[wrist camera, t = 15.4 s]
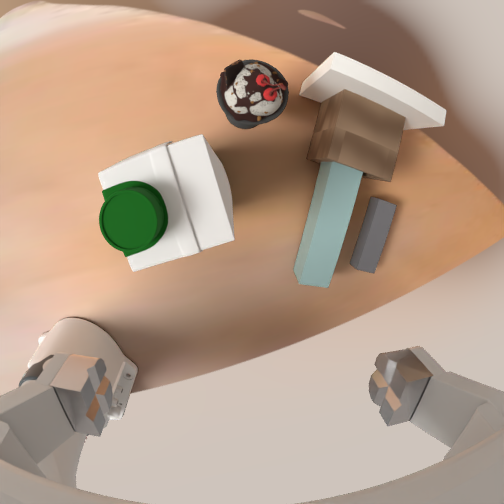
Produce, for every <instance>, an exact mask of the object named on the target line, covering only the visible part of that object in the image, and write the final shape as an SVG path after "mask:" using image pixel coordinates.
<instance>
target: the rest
mask: <svg viewBox="0 0 504 504" xmlns="http://www.w3.org/2000/svg"><path fill="white" fill-rule="evenodd" d="M396 206H397V205H394V204H392V203H389V202H387V201H384V200H381V199H378V198H375V197H371V198H370V201H369V205H368V208H367V211H366V215H365V218H364V221H363V224H362V228H361V231H360V234H359V237H358V240H357V243H356V246H355V249H354V252H353V255H352V258H351V261H350V264H351V265H352V266H353V267H354V268H355V269H357V270H361V271H365V272H369V273H375V270H376V267H377V264H378V261H379V259H380V256H381V253H382V250H383V247H384V244H385V241H386V238H387V235H388V232H389V229H390V226H391V222H392V219H393V216H394V213H395V209H396Z"/></svg>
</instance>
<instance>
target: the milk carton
mask: <svg viewBox="0 0 504 504" xmlns="http://www.w3.org/2000/svg"><path fill="white" fill-rule="evenodd" d="M169 143H172V141H169V142H166V143H163V144H160V145H158V146H155V147H153V148H151V149H148V150H146V151H143V152H141V153H138V154H136V155H133V156H131V157H129V158H126V159H124V160H122V161H120V162H118V163H116V164H114V165H112V166H110V167H108V168H107V169H105V170H103V171H101V172H99V174H98V175H99V179H100V182H101V185H102V187H103V191H102V193H103V196H104V199H105V202H104V203H103V206H102V207H101V211H100V216H99V224H100V229H101V232H102V234H103V236H104V238H105V239H106V241H107V242H108V243H109V244H110V245H111V246H112V247H114V248H116V249H118V250H120V251H123V253H124V255H125V257H127V258H128V261H129V264H130V266H131V269H132V271H134V272H135V271H138V270H142V269H145V268H148V267H152V266H155V265H158V264H162V263H165V262H168V261H172V260H175V259H178V258H181V257H187V256H190V255H194V254H197V253H199V252H202V251H203V250H204V249H207V248H211V247H214V246H217V245H220V244H224V243H227V242H230V241H233V240H235V238H234V224H233V203H232V194H231V189H230V184H229V181H228V177H227V174H226V172H225V169H224V167H223V164H222V163H221V161H220V160H219V159H218V157H217V156H216V154H215V153H214V151H213V150H212V148H211V147H210V145H209V144H208V142H207V140H206V139H205V137H204V136H203V134H201V135H197V136H194V137H191V138H187V139H184V140H181V141H178V142H175V143H172V144H169ZM167 144H169V145H167Z"/></svg>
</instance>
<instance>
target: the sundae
mask: <svg viewBox="0 0 504 504" xmlns="http://www.w3.org/2000/svg"><path fill="white" fill-rule="evenodd" d="M220 76H221V77H220V79H219V81H218V84H217V91H216V92H217V98H218V102H219V105H220V106H221V108H222V110H223V111H224V113H225V114H226V117H227V119H228V120H229V122H230V123H231V124H233V125H234V126H236V127H238V128H242V129H249V128H253V127H255V126H257V125H258V124H263V123H267V122H269V121H271V120H273V119H275V118H277V117H278V116H279V115H280V114H281V113H282V112H283V110H284V109H285V106H286V104H287V101H288V94H289V91H288V82H287V81H286V80H285V78H284V77H283V75H282V74H281V73H280V72H279V71H278V70H277V69H276V68H274V67H273V66H271V65H269V64H267V63H265V62H262V61H259V60H244V61H242V60H238V61H236V62H234V63H232V64H231V65H229V66H228V67H226V68H225V69H224V72H222V73H221V74H220Z"/></svg>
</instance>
